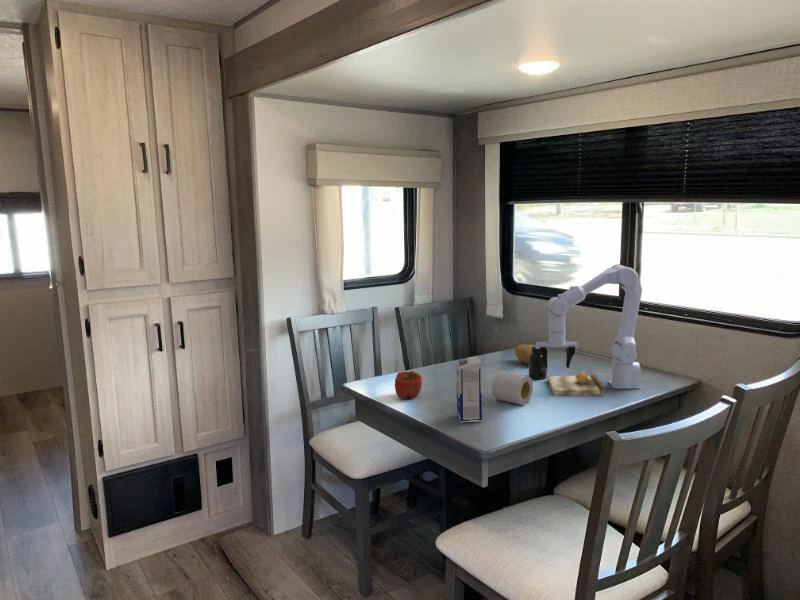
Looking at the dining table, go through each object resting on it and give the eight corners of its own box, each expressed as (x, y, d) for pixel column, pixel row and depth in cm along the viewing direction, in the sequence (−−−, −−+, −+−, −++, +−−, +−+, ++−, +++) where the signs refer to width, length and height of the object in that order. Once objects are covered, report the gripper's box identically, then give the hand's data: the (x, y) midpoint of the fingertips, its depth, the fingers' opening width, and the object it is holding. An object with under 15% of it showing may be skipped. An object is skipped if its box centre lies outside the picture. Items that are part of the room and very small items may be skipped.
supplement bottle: (547, 380, 224) (547, 349, 222) (528, 379, 226) (529, 349, 224) (546, 374, 231) (546, 345, 229) (528, 374, 232) (528, 344, 230)
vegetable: (430, 397, 211) (429, 370, 209) (410, 404, 203) (409, 377, 202) (408, 390, 218) (407, 364, 216) (388, 397, 211) (387, 371, 209)
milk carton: (482, 422, 186) (481, 361, 182) (460, 423, 185) (459, 362, 182) (477, 414, 193) (476, 355, 189) (456, 415, 192) (455, 356, 189)
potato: (524, 358, 254) (524, 340, 253) (550, 365, 243) (551, 346, 242) (509, 362, 249) (509, 344, 247) (535, 369, 238) (535, 350, 236)
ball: (574, 380, 216) (584, 382, 216) (576, 383, 212) (587, 385, 212) (576, 369, 215) (587, 371, 215) (578, 373, 211) (589, 375, 211)
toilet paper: (532, 400, 204) (532, 372, 202) (518, 409, 196) (518, 380, 194) (506, 394, 210) (506, 367, 208) (492, 402, 203) (492, 375, 201)
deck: (595, 381, 221) (595, 372, 221) (605, 395, 206) (605, 386, 205) (547, 381, 223) (547, 373, 223) (554, 395, 207) (554, 386, 207)
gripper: (575, 327, 214) (575, 363, 217) (535, 328, 216) (535, 364, 218) (579, 332, 208) (579, 369, 210) (537, 333, 209) (537, 370, 211)
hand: (556, 367), depth 214 cm, fingers open, 7 cm apart
